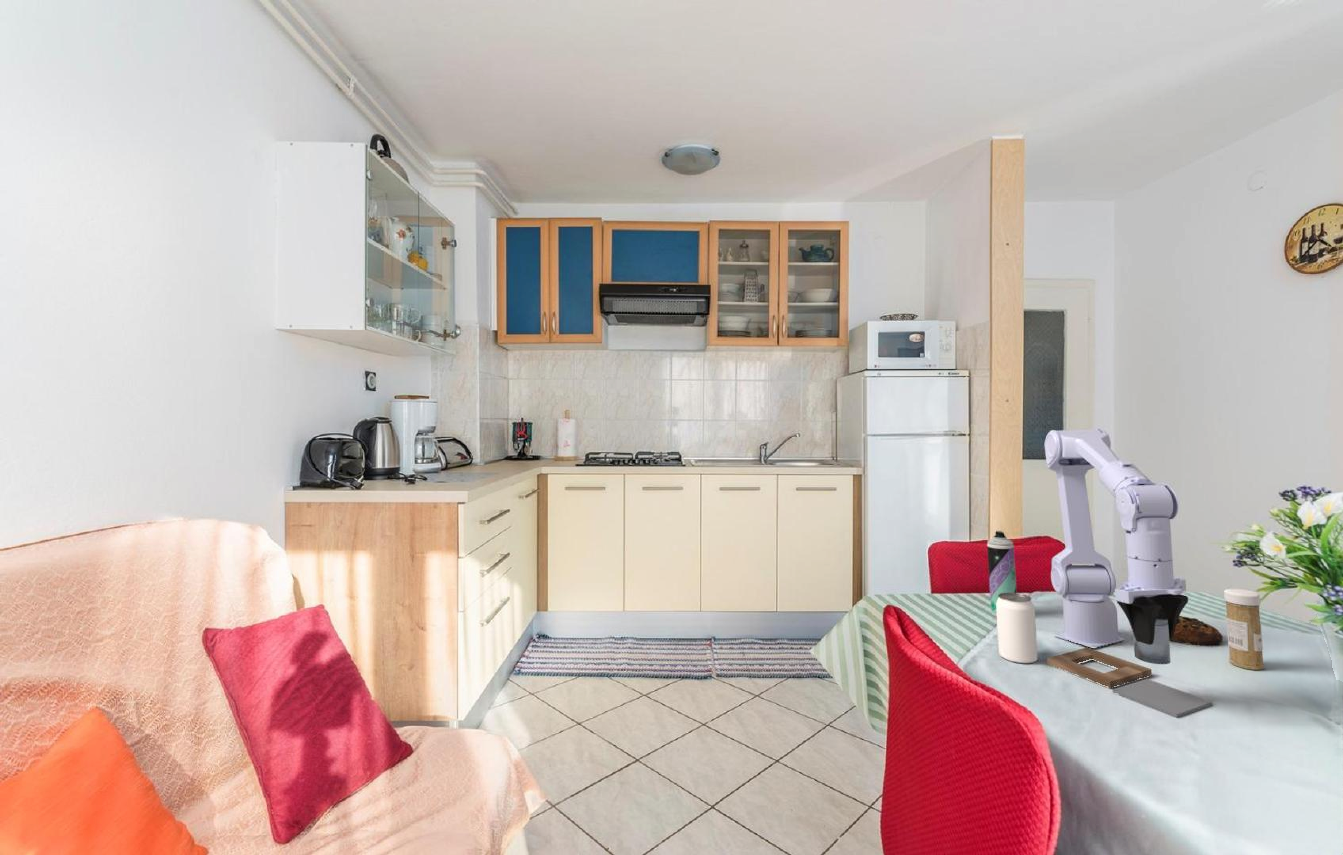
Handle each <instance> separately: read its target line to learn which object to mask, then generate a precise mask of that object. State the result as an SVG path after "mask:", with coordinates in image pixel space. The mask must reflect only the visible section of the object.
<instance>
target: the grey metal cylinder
mask: <svg viewBox="0 0 1343 855" xmlns="http://www.w3.org/2000/svg"><path fill="white" fill-rule="evenodd" d="M1132 633H1133V632H1132ZM1132 636H1133V650H1134V651H1133V652H1134V657H1135V658H1136V659H1137V660H1140V661H1142V662H1144V663H1149V664H1155V665H1169V664H1170V663H1171V650H1170V649H1171V645H1170V639H1169V628H1168V618H1167V617H1165V616H1163V615H1159V614H1158V615H1157V618H1156V622H1155V634H1154V641H1153V644H1151V645H1148V644H1145V643H1142V642H1138V641H1136V639H1135V636H1134V633H1133V635H1132Z"/></svg>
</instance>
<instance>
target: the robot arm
mask: <svg viewBox="0 0 1343 855" xmlns="http://www.w3.org/2000/svg"><path fill="white" fill-rule="evenodd" d="M1110 438H1111V437H1110V434H1108V432H1107V431H1106V430H1105V429H1104V428H1102V427H1098V428H1097V427H1096V428H1091V429H1090V428H1089V429H1068V430H1067V429H1064V430H1063V429H1062V430H1055V429H1051V430H1050V431H1048V433H1047V434H1046V437H1045V440H1044V453H1045V459H1046V464H1047V468H1048V469H1049V470H1052V471H1053V472H1055V475H1056V480H1057V488H1058V497H1059V505H1060V512H1061V513H1060V514H1061V519H1062V520H1061V521H1062V529H1063V537H1064V545H1065V546H1064V547H1065V548H1064V549H1062V551H1060V552H1058V553H1057V554H1055V555H1054V556H1052V558H1051V571H1050V580H1051V584H1052V587H1053V589H1054V590H1055V592H1057V594H1058V595H1060V596H1061V597H1062V598H1061V599H1062V612H1063V624H1064V625H1063V631H1060V632H1057V633H1054V637H1056V638H1059V639H1062V640H1065V641H1068V640H1069V641H1068V642H1070V641H1071V643H1073V642H1074V644H1076V643H1079V644H1082V645H1085V646H1089V647H1099V648H1101V646H1103V645H1106V646H1109V645H1108V644H1110V645H1112V644H1111V643H1114V644H1117V643H1120V642H1119V641H1121V642H1123V641H1124V638H1123V637H1121V636H1119V622H1118V620H1119V619H1118V609H1117V607H1116V604H1115V603H1114V601H1113V600H1112V599H1111V598H1110V597H1111V596H1113V595H1114V596H1115V601H1116V603H1117V604H1118V606H1119V607H1120V609H1121V610H1122V611H1123V613H1124V615H1125V616H1126V618H1127V620H1128V622H1129V625H1130V627H1131V631H1132V633H1134V636H1135V639H1136V641H1138V642H1142V643H1145V644H1148V645H1151V644H1153V641H1154V634H1155V622H1156V618H1157V615H1158V614H1159V615H1163V616H1165V617H1167V618H1168V628H1169V640H1170V639H1172V638H1173V636H1174V632H1175V628H1176V624H1177V621H1178V618H1179V616H1181V613H1182V611H1183V609H1184V608H1185V606H1186V605H1187V604H1188V603H1189V597H1188V596H1186V595H1185V594H1183V593H1184V592H1186V591H1187V584H1186V583H1187V582H1186V579H1184V578H1180V577H1175V575H1174V564H1173V563H1174V562H1173V547H1172V546H1173V545H1172V544H1173V543H1172V531H1171V529H1172V528H1171V520H1174V519H1175V518H1176V517H1177V515H1178V513H1179V499H1178V496H1177V493H1176V492H1175V490H1174V489H1173V488H1172V487H1171V485H1169V484H1168V483H1159V482H1153V481H1152V480H1151V479H1149V478H1148V477H1147V476H1146V474H1144V473H1143V472H1142V471H1141V470H1140V469H1139V468H1138V467H1137V466H1136V465H1134V464H1133V463H1132V462H1131V461H1129V460H1124V459H1123V460H1121V459H1119V458H1118V456H1117V454H1115V453H1114V451H1113V450H1112V448H1111V445H1112V444H1111V439H1110ZM1092 469H1096V470H1097V471H1098V472H1099V474H1098V477H1099V478H1098V479H1099V482H1101V484H1102V485H1103V486H1104V488H1106V489H1107V491H1109V492H1110V494H1111V495H1112V496H1113V497H1114V498H1115V506H1116V510H1117V512H1118V514H1119V517H1120V525H1121V528H1122V529H1124V530H1125V545H1126V548H1125V549H1126V561H1127V564H1126V567H1127V578H1128V580H1127V581H1126V582H1125V583H1123V584H1122V585H1121V586H1120V587H1118V588H1117V583H1116V582H1117V580H1116V578H1115V577H1116V576H1115V574H1114V572H1113V570H1112V566H1111V565H1112V564H1111V561H1110V560H1109V559H1108V558H1107V557H1105V555H1104V556H1103V554H1101V553H1099V552H1098V551H1096V550H1095V544H1094V535H1093V529H1092V521H1091V513H1090V512H1091V511H1090V505H1089V498H1088V490H1087V489H1088V488H1087V482H1086V481H1087V480H1086V474H1088V471H1090V470H1092ZM1085 564H1086V565H1085ZM1122 640H1123V641H1122ZM1116 642H1117V643H1116ZM1079 644H1078V645H1079ZM1082 645H1081V646H1082ZM1085 646H1084V647H1085ZM1103 647H1104V646H1103Z"/></svg>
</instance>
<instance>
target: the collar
mask: <svg viewBox="0 0 1343 855" xmlns="http://www.w3.org/2000/svg"><path fill="white" fill-rule="evenodd" d="M1089 659H1094V660H1096V661H1099V662H1102V663H1104V664H1107V665H1110V666H1114V667H1116V668H1118V669H1113V670H1110V671H1106V672H1102V671H1100V670H1097V669H1093V668H1092V667H1089V666H1086V665H1083V664H1078V663H1079V662H1083V661H1086V660H1089ZM1046 660H1047V661H1046V662H1047V665H1048V666H1051V667H1053V666H1055V667H1054V668H1056V667H1057V668H1056V669H1058V668H1060V669H1059V670H1061V669H1062V671H1063V670H1066V671H1068V672H1067V673H1069V672H1070V673H1069V674H1071V673H1073V674H1072V675H1074V674H1077V675H1079V676H1081V677H1083V678H1082V679H1084V678H1088V679H1090V680H1092V681H1094V682H1098V683H1100V684H1102V685H1105V686H1108V687H1109V688H1108V689H1110V688H1111V689H1113V688H1112V687H1114V686H1117V685H1121V686H1123V685H1122V684H1124V683H1127V682H1131V683H1132V681H1134V682H1136V681H1135V680H1137V679H1139V678H1143V679H1145V678H1144V677H1147V676H1150V675H1153V674H1152V668H1149V667H1147V666H1144V665H1143V666H1142V665H1140V664H1137V663H1135V662H1131V661H1128V660H1125V659H1124V658H1123V659H1121V658H1119V657H1117V656H1114V655H1110V654H1107V653H1105V652H1101V651H1098V650H1096V649H1091V648H1088V647H1083V648H1079V649H1076V650H1072V651H1069V652H1064V653H1062V654H1056V655H1053V656H1049V657H1047V658H1046ZM1066 671H1065V672H1066ZM1079 676H1078V677H1079ZM1081 677H1080V678H1081ZM1150 677H1151V676H1150ZM1147 678H1148V677H1147ZM1092 681H1091V682H1092ZM1137 681H1138V680H1137ZM1094 682H1093V683H1094ZM1127 684H1128V683H1127ZM1102 685H1101V686H1102ZM1124 685H1125V684H1124ZM1105 686H1104V687H1105Z"/></svg>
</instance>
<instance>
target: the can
mask: <svg viewBox="0 0 1343 855" xmlns="http://www.w3.org/2000/svg"><path fill="white" fill-rule="evenodd" d="M998 597H999V598H998V600H997V602H996V612H997V617H996V626H997V627H996V629H997V644H998V654H999V655H1000V658H1002V659H1004V660H1006V661H1008V662H1010V663H1016V664H1022V665H1025V664H1026V665H1027V664H1028V665H1029V664H1033V663H1035V662H1036V661H1037V660H1038V644H1037V643H1038V642H1037V641H1038V640H1037V626H1036V625H1037V624H1036V613H1035V612H1036V610H1035V609H1036V608H1035V605H1034V604H1033V602H1032V597H1031V596H1029V595H1026V594H1023V593H1019V592H1018V593H1000V594H998Z"/></svg>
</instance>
